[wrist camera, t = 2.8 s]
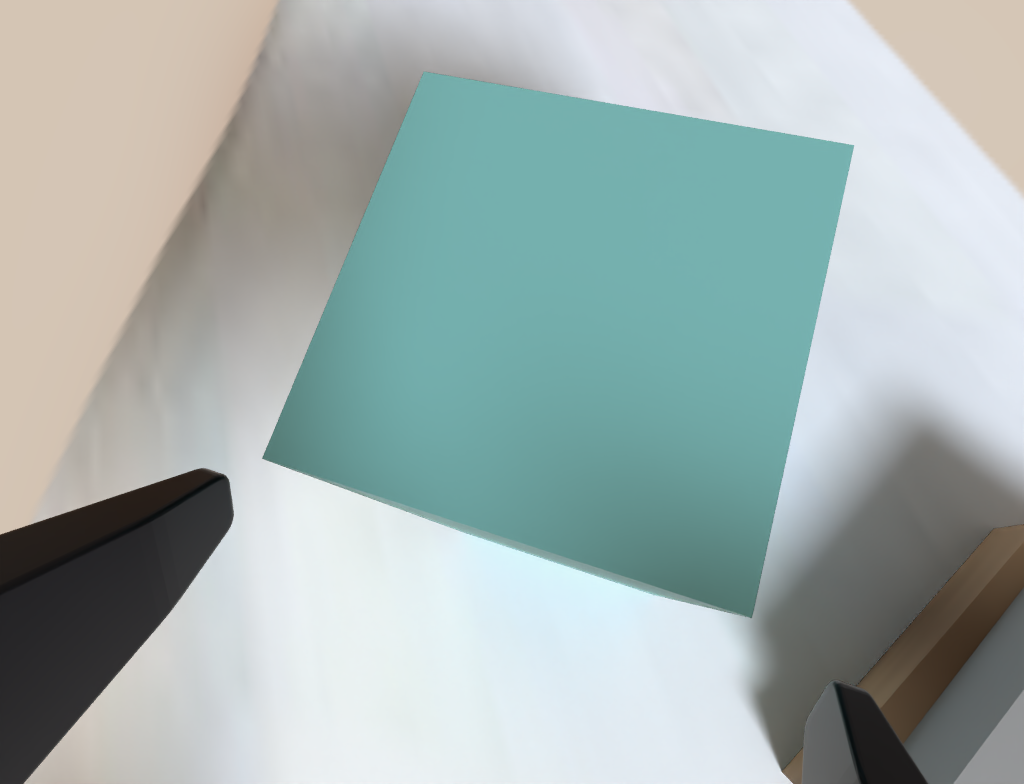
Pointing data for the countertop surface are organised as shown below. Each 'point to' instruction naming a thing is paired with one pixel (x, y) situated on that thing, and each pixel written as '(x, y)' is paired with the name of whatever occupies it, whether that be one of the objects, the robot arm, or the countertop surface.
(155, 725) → the countertop surface
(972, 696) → the tower top
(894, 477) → the countertop surface
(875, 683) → the tower base
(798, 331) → the column
